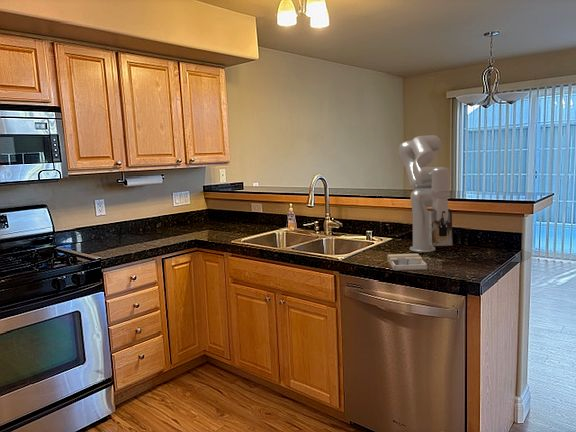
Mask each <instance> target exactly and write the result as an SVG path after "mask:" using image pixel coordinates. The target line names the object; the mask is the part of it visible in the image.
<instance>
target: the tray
mask: <svg viewBox="0 0 576 432" xmlns="http://www.w3.org/2000/svg"><path fill="white" fill-rule="evenodd" d="M390 266H391V268H392V269H393V271H395V272H396V271H397V272H398V271H419V270H420V271H425V270H426V271H427V270H428V264H427V263H426V262H425V261H424V260H421V264H417V265H395V263H394V262H393V261H391V265H390Z"/></svg>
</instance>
